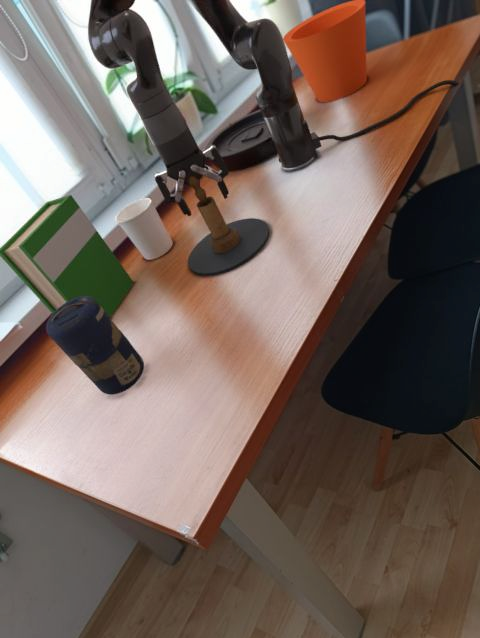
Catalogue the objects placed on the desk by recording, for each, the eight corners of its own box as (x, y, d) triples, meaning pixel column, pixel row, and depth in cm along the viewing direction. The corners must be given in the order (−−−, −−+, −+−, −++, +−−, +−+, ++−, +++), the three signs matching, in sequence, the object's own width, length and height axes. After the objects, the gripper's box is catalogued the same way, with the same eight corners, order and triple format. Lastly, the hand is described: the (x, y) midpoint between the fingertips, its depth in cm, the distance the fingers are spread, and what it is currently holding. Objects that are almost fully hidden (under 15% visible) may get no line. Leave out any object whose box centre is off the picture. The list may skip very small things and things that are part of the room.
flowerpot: (388, 83, 142) (372, 7, 130) (307, 117, 148) (284, 48, 136) (373, 62, 160) (357, -6, 148) (301, 94, 167) (281, 31, 154)
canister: (107, 369, 94) (45, 301, 83) (149, 352, 93) (93, 280, 81) (99, 405, 87) (31, 336, 76) (145, 387, 85) (83, 314, 74)
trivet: (261, 210, 116) (260, 207, 116) (277, 249, 101) (276, 246, 100) (187, 245, 119) (186, 243, 118) (191, 288, 103) (190, 285, 103)
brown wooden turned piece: (236, 249, 106) (198, 175, 94) (211, 256, 108) (170, 184, 97) (242, 232, 110) (206, 159, 99) (217, 239, 113) (180, 169, 101)
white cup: (181, 235, 124) (157, 194, 117) (166, 259, 118) (139, 217, 111) (152, 241, 129) (127, 202, 121) (135, 264, 123) (108, 224, 115)
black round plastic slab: (198, 182, 146) (288, 159, 131) (189, 164, 142) (280, 138, 127) (232, 136, 164) (314, 111, 149) (224, 119, 160) (308, 92, 146)
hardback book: (98, 335, 105) (21, 245, 90) (74, 337, 108) (-4, 251, 93) (134, 282, 116) (70, 194, 101) (111, 286, 119) (46, 202, 104)
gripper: (136, 155, 91) (178, 227, 101) (204, 120, 89) (240, 197, 99) (137, 143, 96) (177, 213, 107) (201, 110, 95) (235, 184, 105)
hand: (207, 205), depth 103 cm, fingers open, 8 cm apart
